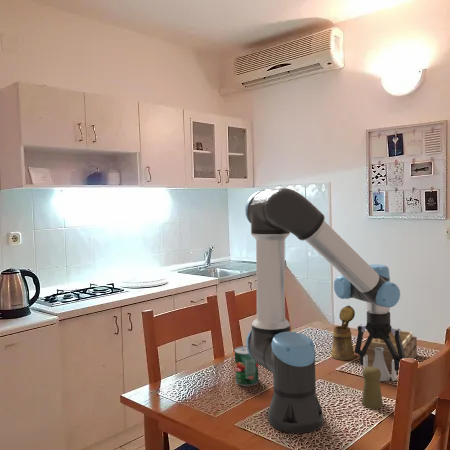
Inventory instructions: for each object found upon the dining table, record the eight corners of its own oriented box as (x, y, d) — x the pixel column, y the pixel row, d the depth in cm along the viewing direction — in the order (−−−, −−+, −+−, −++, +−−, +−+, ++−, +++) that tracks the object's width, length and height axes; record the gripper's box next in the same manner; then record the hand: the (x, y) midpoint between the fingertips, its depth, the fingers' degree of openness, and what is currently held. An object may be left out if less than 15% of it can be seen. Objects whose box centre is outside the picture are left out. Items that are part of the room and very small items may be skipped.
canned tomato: (263, 380, 158) (262, 348, 158) (248, 388, 152) (247, 355, 152) (245, 375, 164) (244, 344, 163) (230, 382, 158) (229, 350, 157)
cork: (380, 410, 133) (379, 373, 132) (359, 406, 136) (358, 369, 136) (385, 402, 138) (384, 366, 138) (364, 398, 141) (364, 363, 141)
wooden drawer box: (404, 373, 159) (404, 353, 159) (363, 366, 167) (363, 347, 167) (416, 354, 177) (416, 336, 176) (379, 349, 185) (379, 332, 184)
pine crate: (401, 368, 161) (401, 346, 161) (368, 363, 167) (367, 341, 167) (412, 353, 176) (412, 332, 176) (381, 348, 183) (381, 328, 182)
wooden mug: (361, 351, 184) (360, 306, 183) (350, 361, 172) (349, 314, 171) (339, 347, 189) (338, 304, 187) (327, 358, 177) (326, 311, 176)
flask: (392, 382, 152) (391, 352, 152) (369, 381, 154) (368, 352, 153) (389, 374, 159) (388, 345, 159) (367, 373, 161) (366, 345, 160)
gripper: (414, 311, 153) (415, 378, 154) (350, 305, 164) (351, 367, 166) (409, 317, 146) (410, 387, 148) (343, 310, 158) (344, 375, 159)
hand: (379, 376), depth 157 cm, fingers open, 9 cm apart
